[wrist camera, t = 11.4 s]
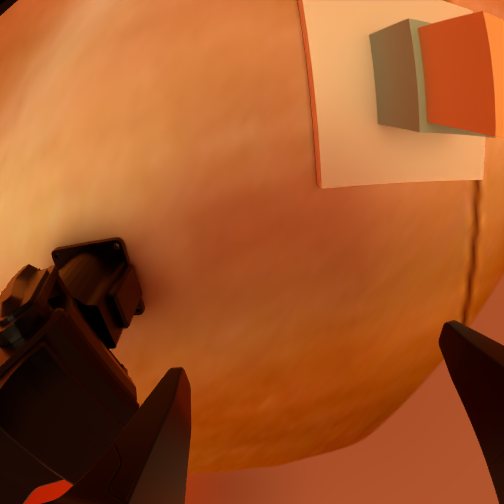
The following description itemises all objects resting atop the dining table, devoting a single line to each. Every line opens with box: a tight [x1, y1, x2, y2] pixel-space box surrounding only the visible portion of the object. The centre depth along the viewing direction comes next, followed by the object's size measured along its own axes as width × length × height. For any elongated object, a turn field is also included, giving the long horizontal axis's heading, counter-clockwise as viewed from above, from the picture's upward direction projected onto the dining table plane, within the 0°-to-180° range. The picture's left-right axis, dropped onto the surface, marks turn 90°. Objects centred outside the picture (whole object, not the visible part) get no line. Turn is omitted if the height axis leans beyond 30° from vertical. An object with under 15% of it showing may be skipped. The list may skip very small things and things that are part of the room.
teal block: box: [369, 18, 496, 138], centre depth 14 cm, size 6×6×5 cm
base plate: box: [298, 0, 485, 189], centre depth 16 cm, size 14×14×1 cm
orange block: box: [417, 11, 504, 138], centre depth 9 cm, size 5×5×5 cm
